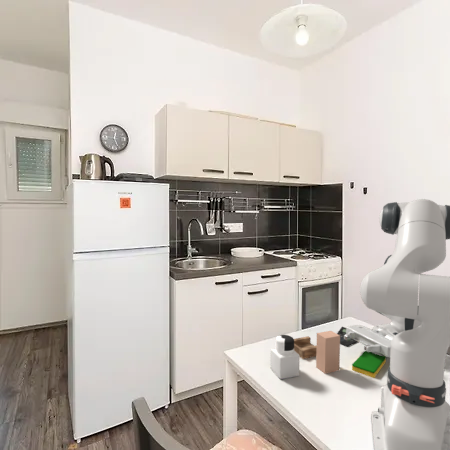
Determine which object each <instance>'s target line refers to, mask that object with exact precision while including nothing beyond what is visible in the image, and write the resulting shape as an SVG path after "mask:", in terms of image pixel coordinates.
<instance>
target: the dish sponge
mask: <svg viewBox="0 0 450 450" xmlns="http://www.w3.org/2000/svg"><path fill="white" fill-rule="evenodd" d="M386 361H387V357H386V356H384V355H383V354H377V353H376V352H372V351H371V352H367V351H365V350H364V351H363V352H362V353H361V354H360V355H359V357H357V358H356V359H355V361H354V362H352V364H351V370H352V372H353V371H354V372H355V373H359V374H362V375H364V376H367V377H370V378H373V379H374V378H376V377H377V374H379V372H380V371H381V369H382V368H383V367H384V365H385V364H386V363H387V362H386Z"/></svg>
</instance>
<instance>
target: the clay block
mask: <svg viewBox="0 0 450 450" xmlns="http://www.w3.org/2000/svg"><path fill="white" fill-rule="evenodd" d="M316 345H317V350H316V356H315V357H316V359H315V361H316V362H315V363H316V364H315V368H316V369H318V370H319V371H320V372H322V373H323V374H325V375H327V374H330V373H335V372H338V371H340V360H341V359H340V358H341V356H340V354H341V353H340V352H341V350H340V349H341V344H340V335H338V334H337V332H334V331H332V330H326V331H322V332H317V333H316Z"/></svg>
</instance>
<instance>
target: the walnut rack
mask: <svg viewBox="0 0 450 450" xmlns="http://www.w3.org/2000/svg"><path fill="white" fill-rule="evenodd" d="M293 339H294V351H295V352H296V353H298V354H299V356H300V358H301V359H302V360H304V359H311V358H314V357H316V350H317V344H316V345H314V344H313V343H311V337H310V336H303V337H297V338H293Z"/></svg>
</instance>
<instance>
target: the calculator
mask: <svg viewBox="0 0 450 450" xmlns="http://www.w3.org/2000/svg"><path fill="white" fill-rule="evenodd" d="M346 328H347V327H345V326H341V327H340V329H339V330H338V331H337V332H336V334H338V335H340V346H344V347H345V348H349V347H350V346H353V345H354V344H356V343H359V342H358V341H356V340H354V339H352V338H351V340H348V341H347V340H345V339H344V335H345V334H346ZM352 344H353V345H352Z"/></svg>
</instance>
